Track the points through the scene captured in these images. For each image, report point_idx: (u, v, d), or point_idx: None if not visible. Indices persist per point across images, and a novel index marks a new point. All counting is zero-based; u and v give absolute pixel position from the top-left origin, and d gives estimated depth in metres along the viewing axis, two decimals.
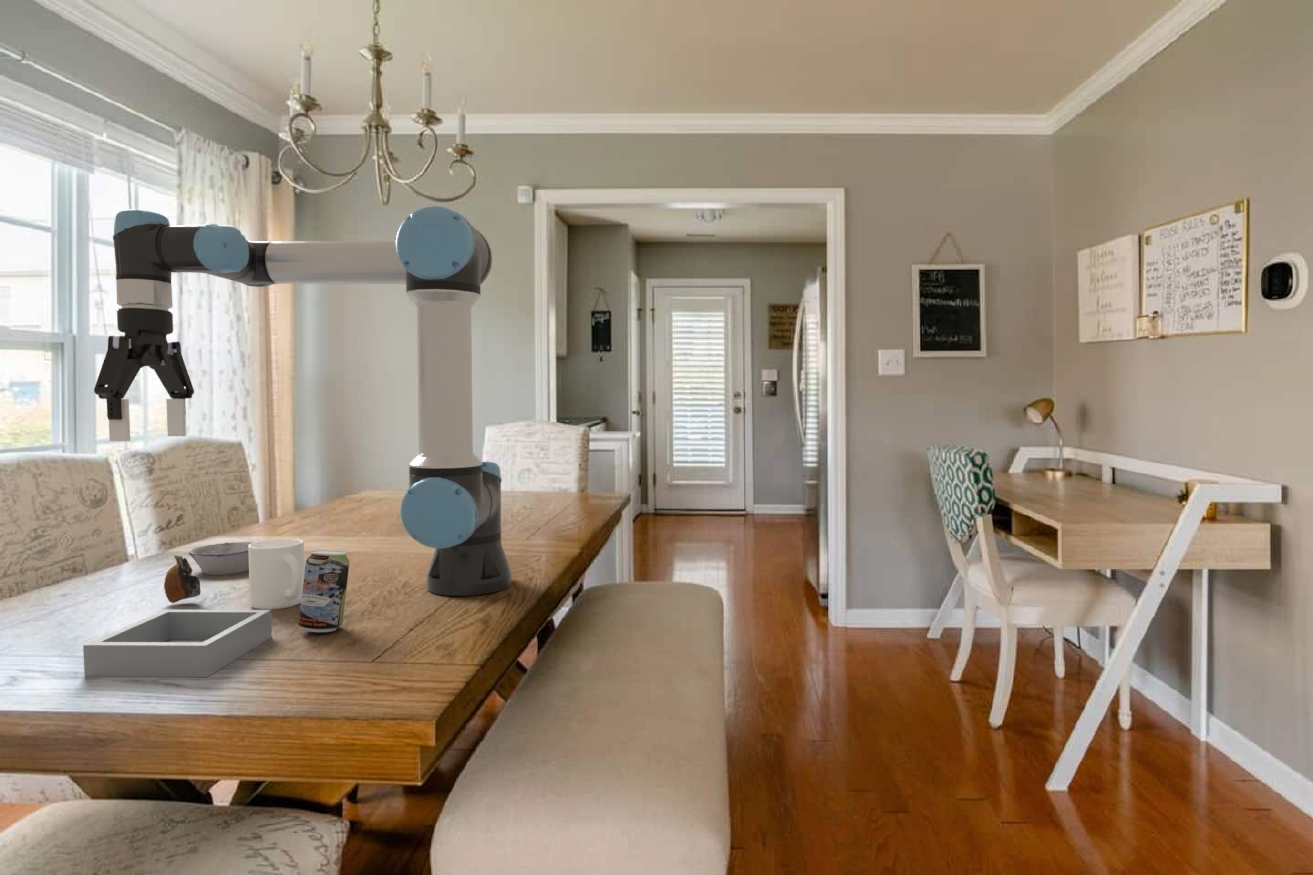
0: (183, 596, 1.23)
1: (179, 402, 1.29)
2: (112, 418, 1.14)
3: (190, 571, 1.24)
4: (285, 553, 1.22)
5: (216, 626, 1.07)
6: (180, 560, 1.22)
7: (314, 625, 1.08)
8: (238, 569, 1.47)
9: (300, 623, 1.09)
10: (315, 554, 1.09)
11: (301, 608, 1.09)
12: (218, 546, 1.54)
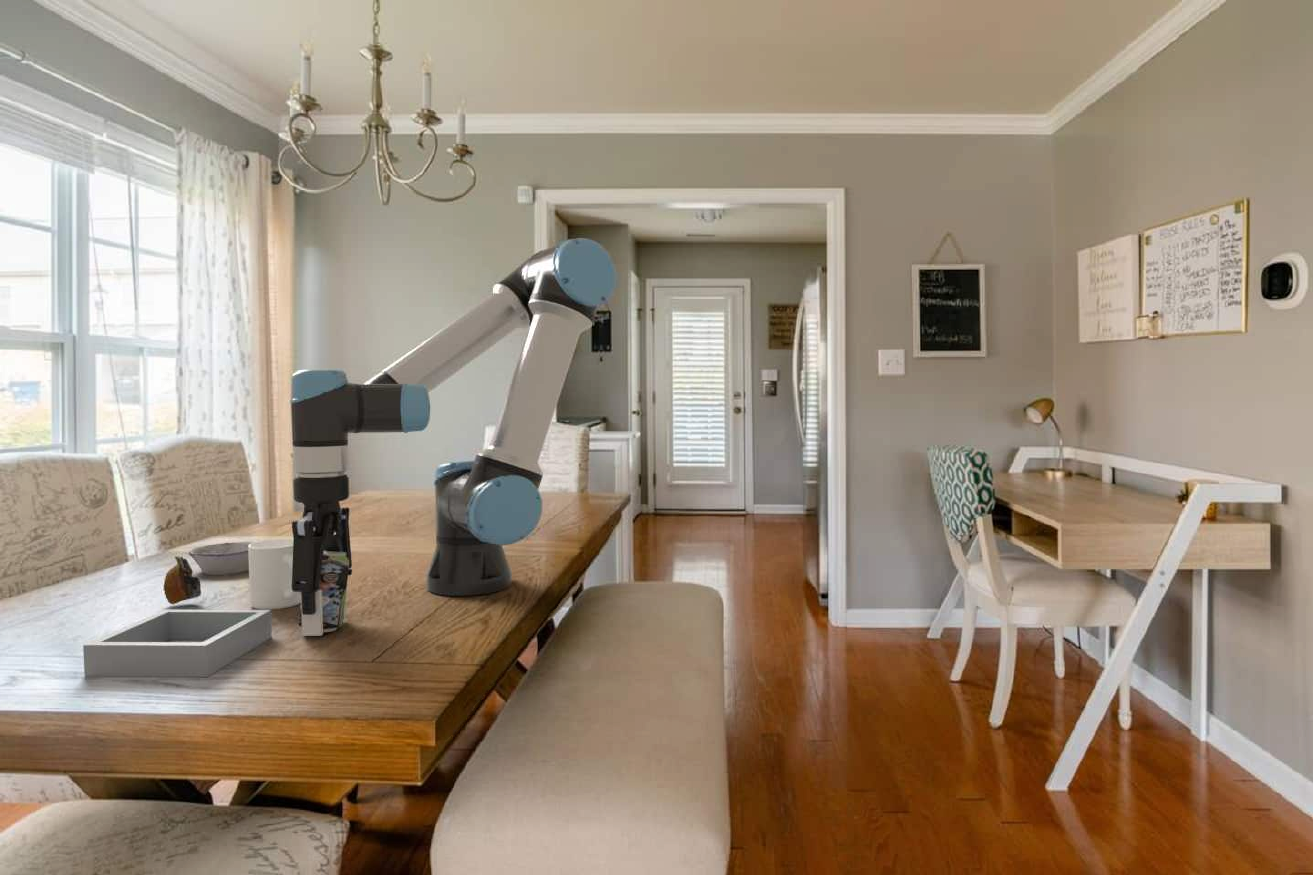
0: (184, 597, 1.22)
1: None
2: (307, 613, 1.06)
3: (191, 572, 1.23)
4: (285, 553, 1.22)
5: (216, 626, 1.07)
6: (180, 561, 1.22)
7: None
8: (238, 569, 1.47)
9: (300, 623, 1.09)
10: None
11: None
12: (218, 546, 1.54)
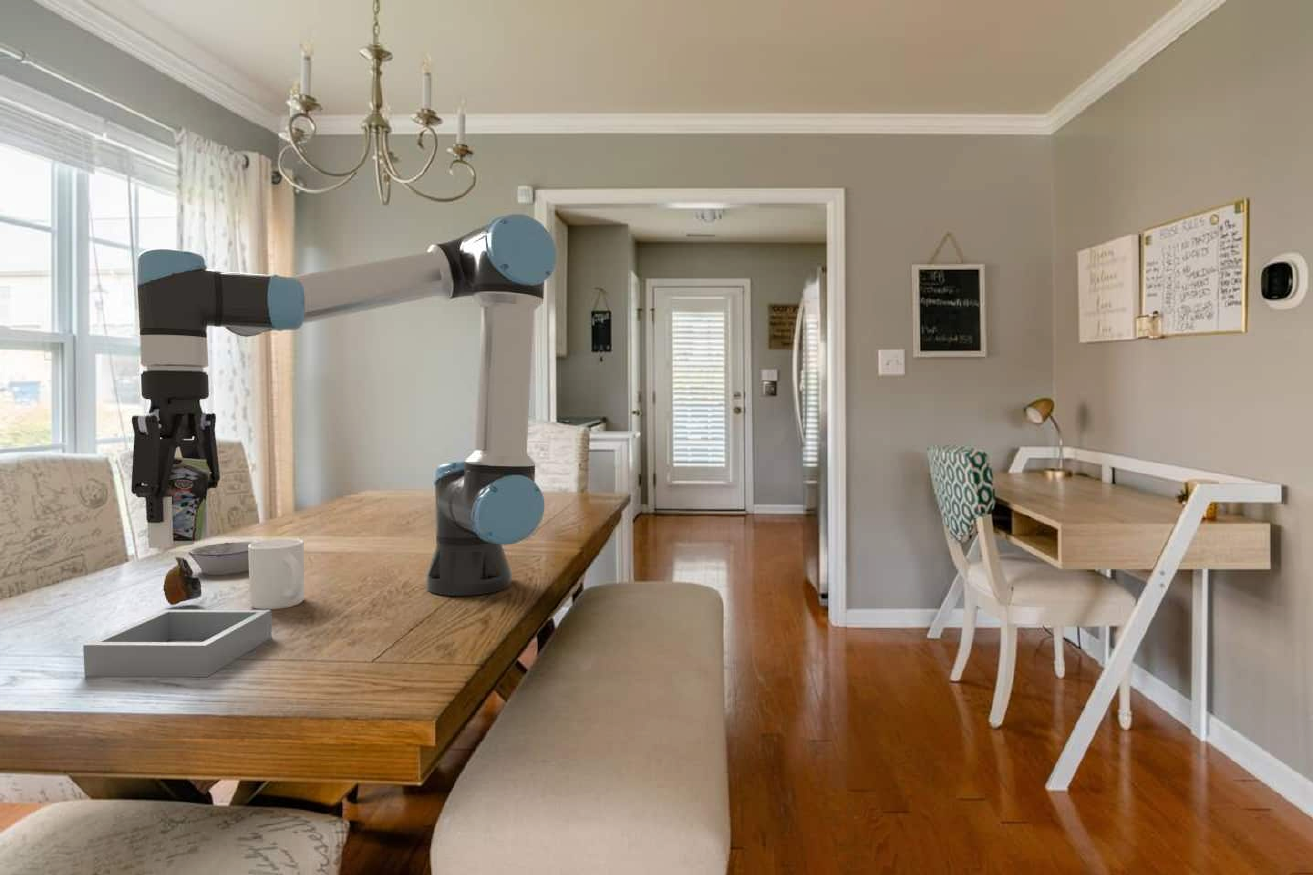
0: (184, 598, 1.22)
1: None
2: (152, 521, 0.94)
3: (191, 572, 1.23)
4: (285, 553, 1.22)
5: (216, 626, 1.07)
6: (181, 561, 1.21)
7: None
8: (238, 569, 1.47)
9: None
10: None
11: None
12: (218, 547, 1.54)
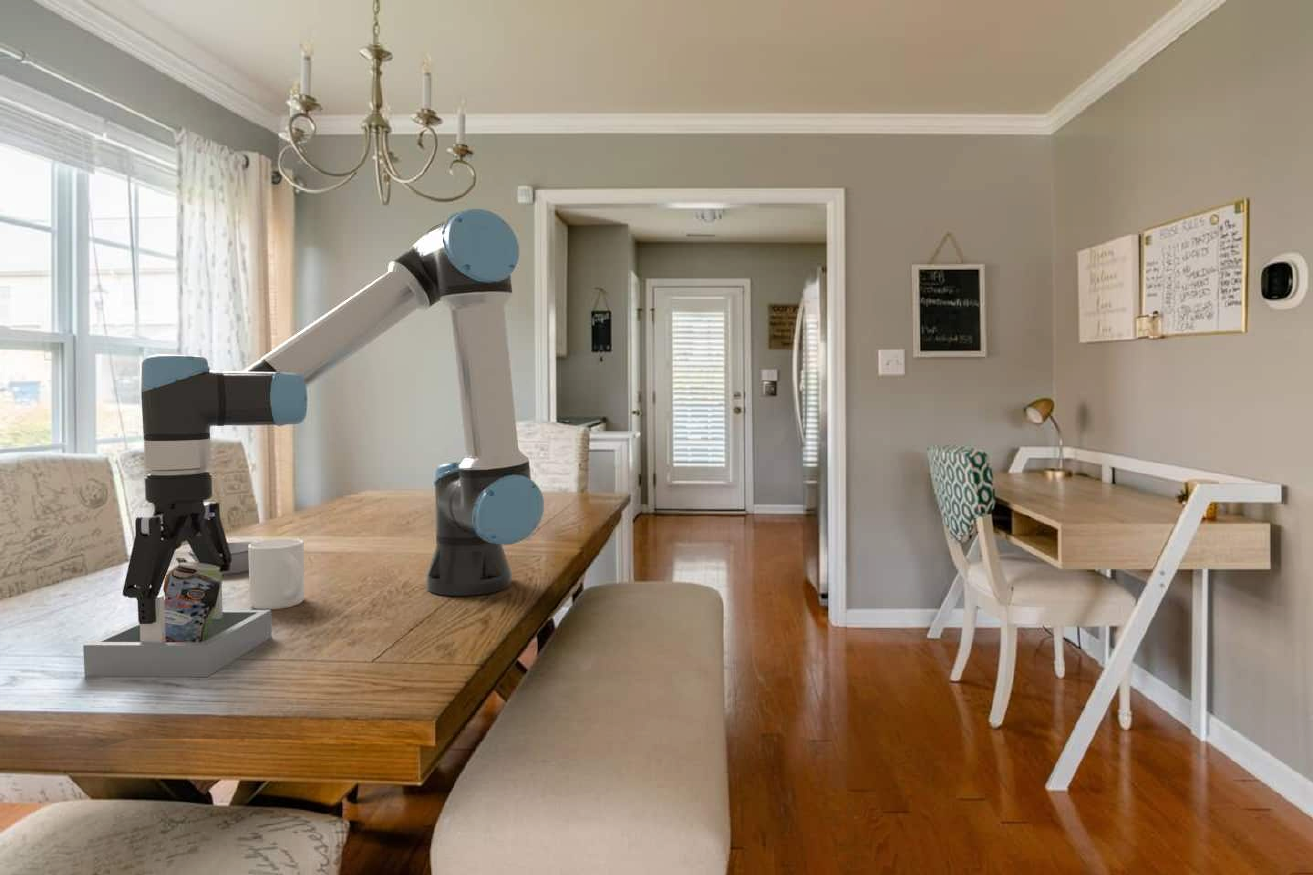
0: None
1: None
2: (144, 622, 0.93)
3: None
4: (285, 553, 1.22)
5: (216, 626, 1.07)
6: None
7: None
8: (238, 569, 1.47)
9: None
10: (182, 566, 0.99)
11: None
12: None
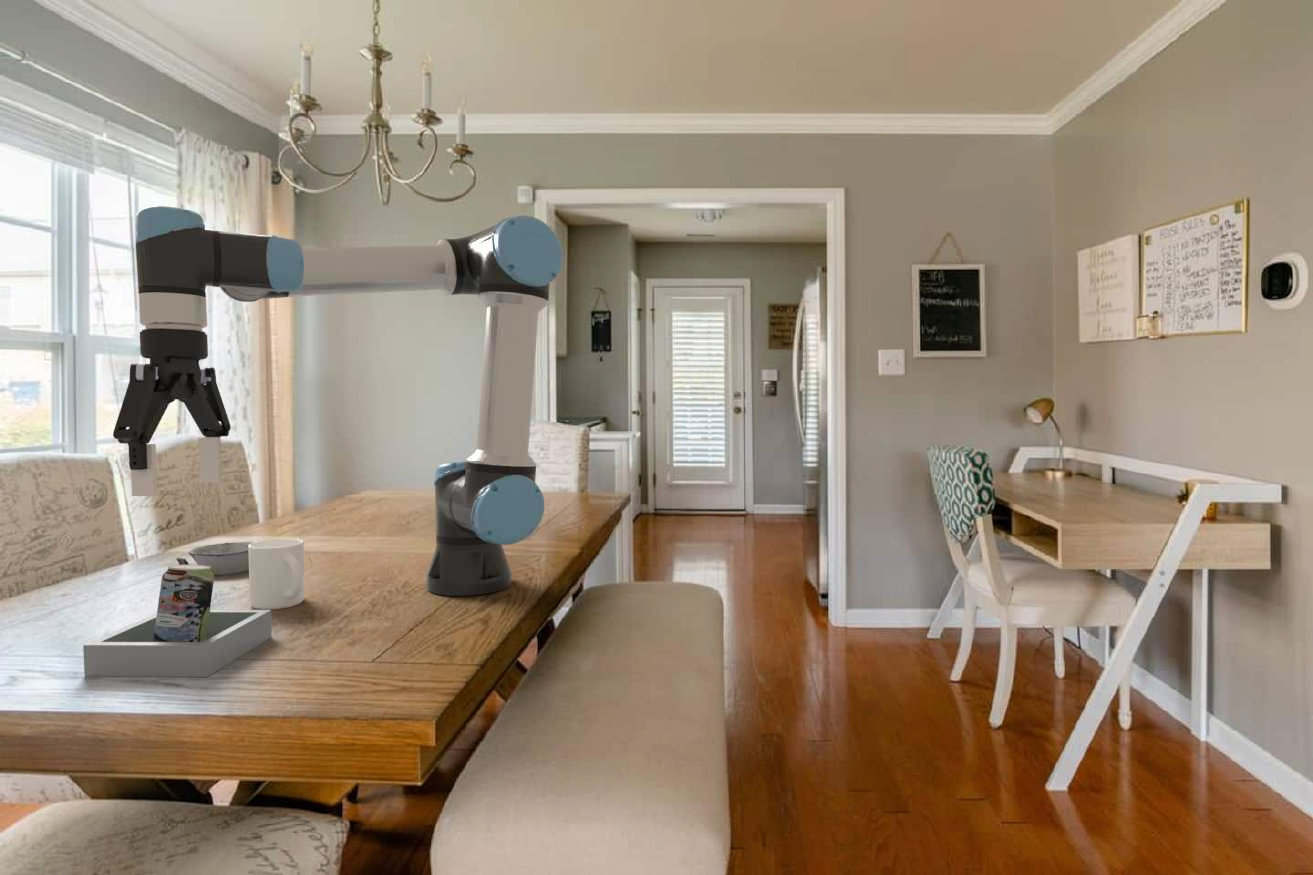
0: None
1: (214, 441, 1.05)
2: (135, 468, 0.91)
3: None
4: (285, 553, 1.22)
5: (216, 626, 1.07)
6: (182, 562, 1.21)
7: None
8: (238, 569, 1.47)
9: None
10: (171, 569, 0.99)
11: (155, 629, 0.98)
12: (218, 546, 1.54)
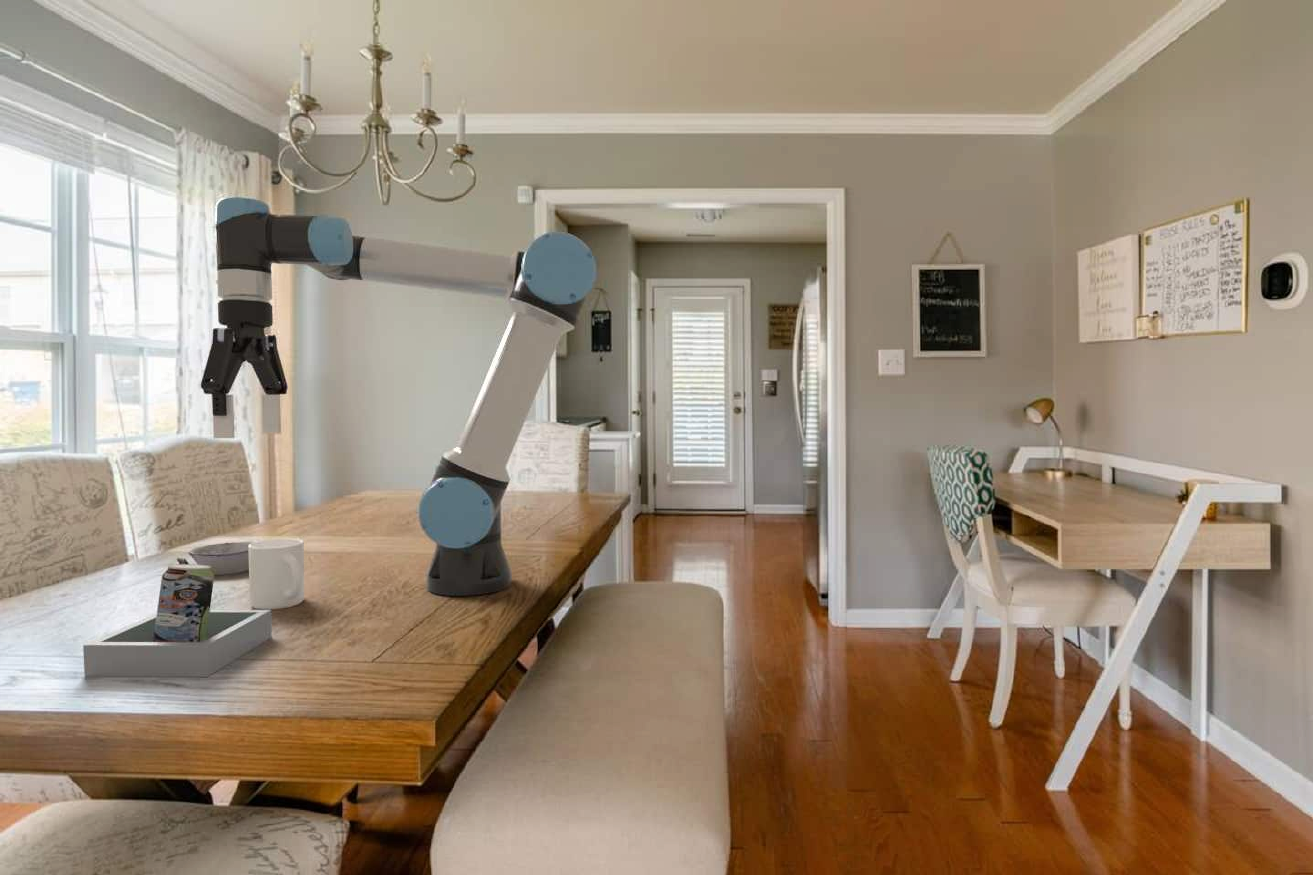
0: None
1: (275, 398, 1.24)
2: (217, 414, 1.10)
3: None
4: (285, 553, 1.22)
5: (216, 626, 1.07)
6: (183, 563, 1.20)
7: None
8: (238, 569, 1.47)
9: None
10: (171, 568, 0.99)
11: (155, 628, 0.98)
12: (218, 546, 1.54)
